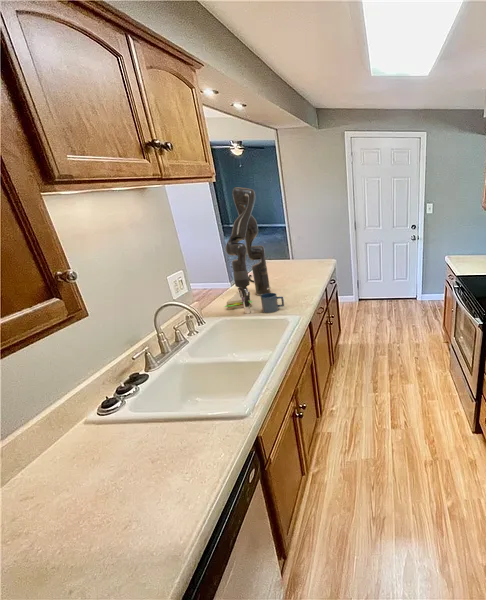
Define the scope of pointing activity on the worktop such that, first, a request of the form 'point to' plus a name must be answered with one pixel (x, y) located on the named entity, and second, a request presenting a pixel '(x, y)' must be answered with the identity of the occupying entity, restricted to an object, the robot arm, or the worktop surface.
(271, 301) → the mug
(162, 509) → the worktop surface
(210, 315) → the worktop surface
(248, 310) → the glue stick
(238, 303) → the sandwich
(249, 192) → the robot arm
